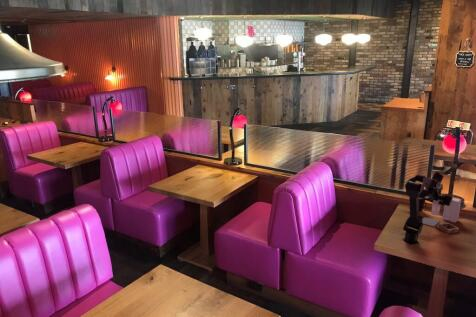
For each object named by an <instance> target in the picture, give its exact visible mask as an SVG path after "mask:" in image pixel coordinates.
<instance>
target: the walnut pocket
mask: <svg viewBox="0 0 476 317" xmlns="http://www.w3.org/2000/svg"><path fill="white" fill-rule="evenodd" d="M437 229H439V230H441V231H442V232H444V233H446V234H454V233H459V231H460V228H459V227H457V226H456V225H454V224H451V223H450V222H444V223H438V224H437Z"/></svg>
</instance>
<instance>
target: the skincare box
mask: <svg viewBox="0 0 476 317" xmlns="http://www.w3.org/2000/svg"><path fill="white" fill-rule="evenodd" d="M461 203H462V198H457V197H453V199H452V202H451V204H450V206H446V205H443V206H444V207H443V212H442V220H444V221H447V222H452V223H455V224H456V223H457V222H458V221H459V218H460V210H461Z"/></svg>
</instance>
